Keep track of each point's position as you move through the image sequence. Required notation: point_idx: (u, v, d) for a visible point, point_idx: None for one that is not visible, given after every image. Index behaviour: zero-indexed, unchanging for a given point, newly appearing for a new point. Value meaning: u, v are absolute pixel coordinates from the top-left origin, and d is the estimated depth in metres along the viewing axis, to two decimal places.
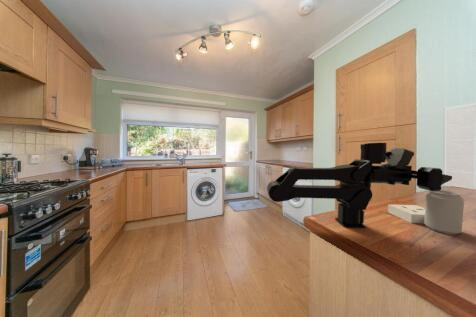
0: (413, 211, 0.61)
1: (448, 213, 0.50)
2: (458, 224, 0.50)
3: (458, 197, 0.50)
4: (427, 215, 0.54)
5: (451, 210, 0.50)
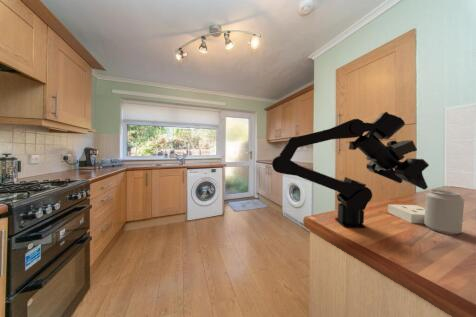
0: (413, 211, 0.61)
1: (448, 213, 0.50)
2: (458, 224, 0.50)
3: (458, 197, 0.50)
4: (427, 215, 0.54)
5: (451, 210, 0.50)
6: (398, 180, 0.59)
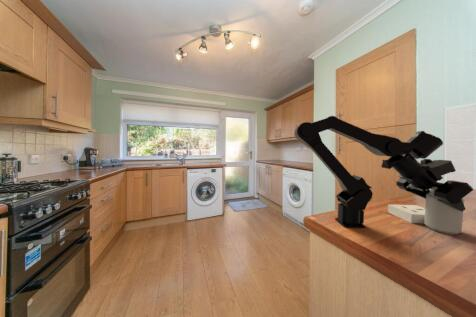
0: (413, 211, 0.61)
1: (448, 213, 0.50)
2: (458, 224, 0.50)
3: None
4: (427, 215, 0.54)
5: (451, 210, 0.50)
6: None
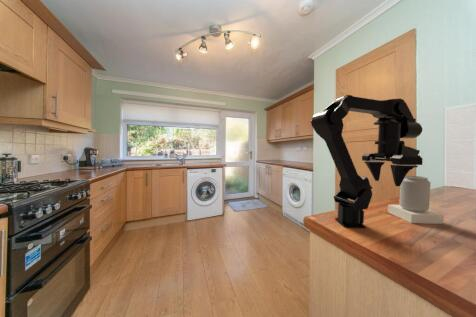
0: (413, 211, 0.61)
1: (422, 195, 0.59)
2: (428, 203, 0.59)
3: (427, 180, 0.59)
4: (404, 198, 0.62)
5: (424, 191, 0.59)
6: (376, 177, 0.65)
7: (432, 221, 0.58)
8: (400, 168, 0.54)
